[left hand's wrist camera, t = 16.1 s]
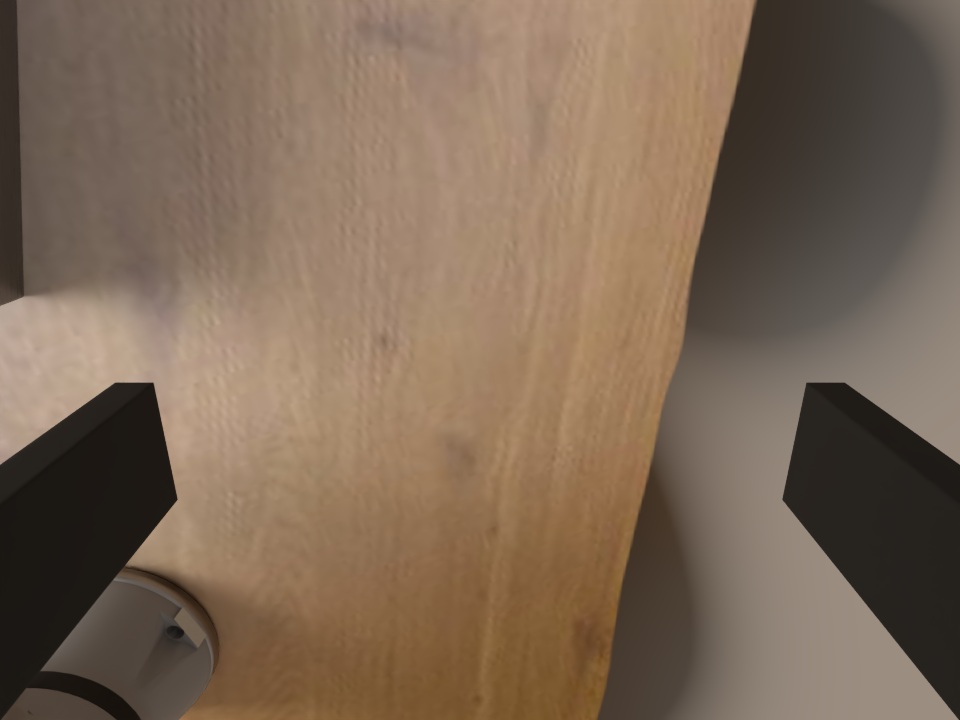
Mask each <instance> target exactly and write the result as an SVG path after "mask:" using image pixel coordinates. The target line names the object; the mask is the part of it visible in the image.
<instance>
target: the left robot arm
mask: <svg viewBox="0 0 960 720" xmlns="http://www.w3.org/2000/svg"><path fill="white" fill-rule="evenodd" d="M177 500H178V499H177V494H176V490H175V485H174V480H173V475H172V470H171V465H170V461H169V456H168V451H167V446H166V441H165V436H164V431H163V427H162V422H161V417H160V412H159V407H158V402H157V398H156V393H155V388H154V383H114V384H113V385H111V386H110V387H109V388H107V389H106V390H104V391H103V392H102V393H100V394H99V395H97V396H96V397H95V398H93V399H92V400H90V401H89V402H88V403H86V404H85V405H83V406H82V407H81V408H79V409H78V410H76V411H75V412H74V413H72V414H71V415H69V416H68V417H67V418H65V419H64V420H62V421H61V422H60V423H58V424H57V425H55V426H54V427H53V428H51V429H50V430H48V431H47V432H46V433H44V434H43V435H41V436H40V437H39V438H37V439H36V440H34V441H33V442H32V443H30V444H29V445H27V446H26V447H25V448H23V449H22V450H20V451H19V452H18V453H16V454H15V455H13V456H12V457H11V458H9V459H8V460H6V461H5V462H4V463H2V464H1V465H0V720H179V719H180V718H181V717H182V716H183V715H184V714H185V713H186V712H187V711H188V710H189V709H190V708H191V707H192V706H193V704H194V703H195V702H196V701H197V700H198V698H199V697H200V696H201V694H202V693H203V692H204V690H205V689H206V687H207V685H208V683H209V681H210V679H211V677H212V675H213V673H214V671H215V668H216V665H217V662H218V657H219V643H218V638H217V634H216V631H215V629H214V626H213V624H212V622H211V621H210V619H209V617H208V616H207V614H206V613H205V611H204V610H203V609H202V608H201V607H200V605H199V604H198V603H197V602H196V601H195V600H194V599H193V598H191V597H190V596H189V595H188V594H187V593H185V592H184V591H183V590H181V589H180V588H178V587H177V586H175V585H173V584H172V583H170V582H168V581H166V580H164V579H162V578H159V577H157V576H155V575H152V574H149V573H146V572H143V571H139V570H134V569H129V568H123V567H124V566H125V565H126V563H127V562H128V561H129V560H130V558H131V557H132V556H133V555H134V553H135V552H136V551H137V550H138V548H139V547H140V546H141V545H142V543H143V542H144V541H145V540H146V538H147V537H148V536H149V535H150V533H151V532H152V531H153V530H154V528H155V527H156V526H157V525H158V523H159V522H160V521H161V520H162V518H163V517H164V516H165V515H166V513H167V512H168V511H169V510H170V508H171V507H172V506H173V505H174V503H175V502H176V501H177ZM783 501H784V502H785V503H786V505H787V506H788V507H789V508H790V510H791V511H792V512H793V513H794V515H795V516H796V517H797V518H798V520H799V521H800V522H801V523H802V525H803V526H804V527H805V528H806V530H807V531H808V532H809V533H810V535H811V536H812V537H813V538H814V540H815V541H816V542H817V543H818V545H819V546H820V547H821V548H822V550H823V551H824V552H825V553H826V554H827V556H828V557H829V558H830V560H831V561H832V562H833V563H834V565H835V566H836V567H837V568H838V570H839V571H840V572H841V573H842V575H843V576H844V577H845V578H846V580H847V581H848V582H849V583H850V584H851V586H852V587H853V588H854V590H855V591H856V592H857V593H858V594H859V596H860V597H861V598H862V599H863V601H864V602H865V603H866V604H867V606H868V607H869V608H870V609H871V611H872V612H873V613H874V614H875V616H876V617H877V618H878V619H879V621H880V622H881V623H882V624H883V626H884V627H885V628H886V629H887V631H888V632H889V633H890V634H891V636H892V637H893V638H894V639H895V641H896V642H897V643H898V644H899V646H900V647H901V648H902V649H903V651H904V652H905V653H906V654H907V656H908V657H909V658H910V659H911V661H912V662H913V663H914V664H915V665H916V667H917V668H918V669H919V671H920V672H921V673H922V674H923V676H924V677H925V678H926V679H927V681H928V682H929V683H930V684H931V686H932V687H933V688H934V689H935V691H936V692H937V693H938V694H939V695H940V697H941V698H942V699H943V701H944V702H945V703H946V704H947V705H948V707H949V708H950V709H951V710H952V712H953V713H954V714H955V715H956V717H957V718H958V719H959V720H960V465H959V464H958V463H956V462H955V461H954V460H952V459H951V458H949V457H948V456H947V455H945V454H944V453H942V452H941V451H940V450H938V449H937V448H935V447H934V446H933V445H931V444H930V443H928V442H927V441H926V440H924V439H923V438H921V437H920V436H919V435H917V434H916V433H914V432H913V431H912V430H910V429H909V428H907V427H906V426H905V425H903V424H902V423H900V422H899V421H898V420H896V419H895V418H893V417H892V416H891V415H889V414H888V413H886V412H885V411H884V410H882V409H881V408H879V407H878V406H877V405H875V404H874V403H872V402H871V401H870V400H868V399H867V398H865V397H864V396H862V395H861V394H860V393H858V392H857V391H855V390H854V389H853V388H851V387H850V386H849V385H847V384H846V383H806V388H805V393H804V398H803V402H802V407H801V412H800V417H799V422H798V427H797V431H796V436H795V441H794V446H793V451H792V456H791V461H790V465H789V470H788V475H787V480H786V485H785V490H784V494H783Z"/></svg>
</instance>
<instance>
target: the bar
mask: <svg viewBox="0 0 960 720" xmlns="http://www.w3.org/2000/svg"><path fill="white" fill-rule="evenodd" d="M22 297H23V257H22V217H21V177H20V136H19V96H18V56H17V15H16V0H0V306H1V305H3V304H6V303H9V302H11V301H14V300H16V299H19V298H22Z"/></svg>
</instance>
